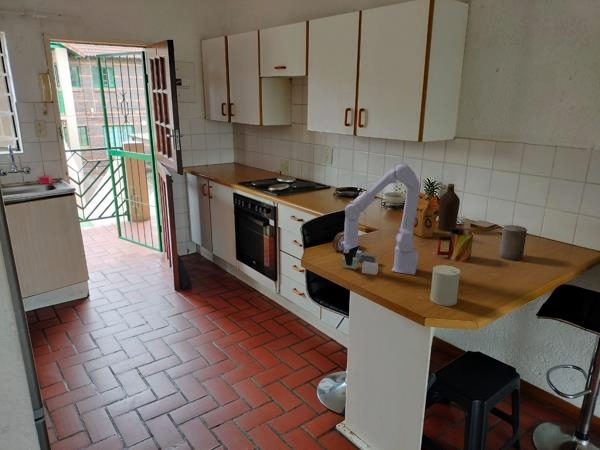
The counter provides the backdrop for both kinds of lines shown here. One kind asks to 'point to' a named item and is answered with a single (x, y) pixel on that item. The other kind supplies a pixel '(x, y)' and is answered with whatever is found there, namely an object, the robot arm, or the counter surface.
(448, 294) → the can
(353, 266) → the sage brick
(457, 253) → the mug
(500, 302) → the counter surface
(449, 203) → the olive oil
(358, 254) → the blue brick
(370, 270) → the grey brick
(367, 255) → the charcoal brick
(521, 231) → the pillar candle
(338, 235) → the tin
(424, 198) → the coffee package
